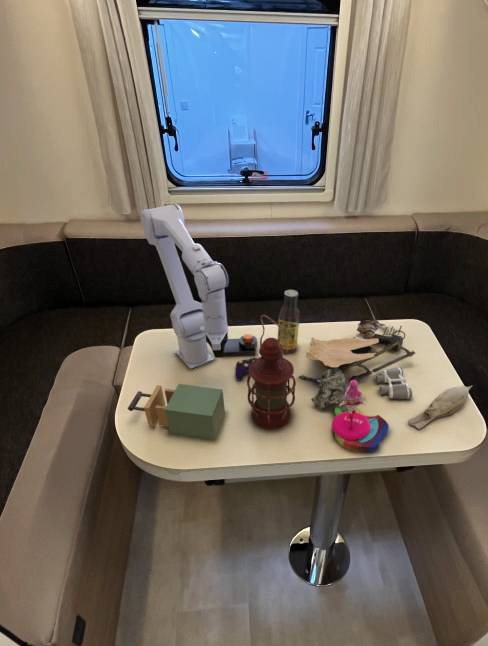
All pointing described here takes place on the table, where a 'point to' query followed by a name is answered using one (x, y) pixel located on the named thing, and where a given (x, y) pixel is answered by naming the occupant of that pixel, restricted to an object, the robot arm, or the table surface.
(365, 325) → the oyster
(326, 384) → the rock
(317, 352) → the tan craggy stone
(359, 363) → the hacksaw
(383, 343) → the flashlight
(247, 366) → the gaming controller
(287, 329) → the sauce bottle
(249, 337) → the button
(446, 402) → the sculpture
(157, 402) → the drawer
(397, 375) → the binoculars
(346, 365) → the phone
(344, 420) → the figurine
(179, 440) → the table surface
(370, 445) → the decorative object
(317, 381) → the knife
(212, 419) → the cabinet
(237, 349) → the button box
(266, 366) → the lantern
